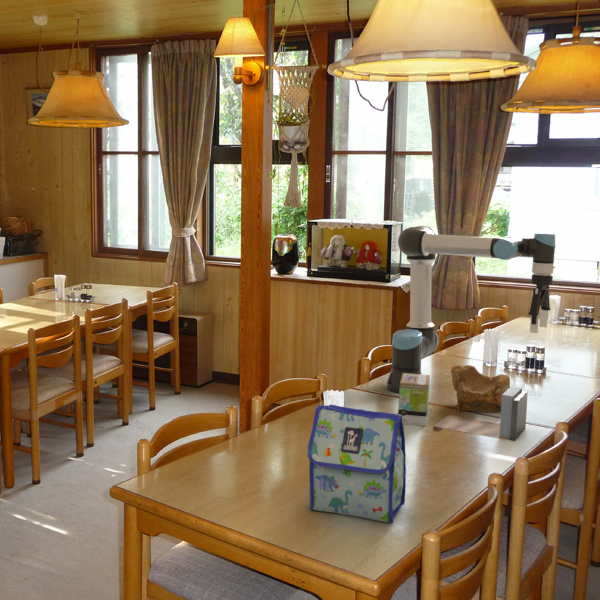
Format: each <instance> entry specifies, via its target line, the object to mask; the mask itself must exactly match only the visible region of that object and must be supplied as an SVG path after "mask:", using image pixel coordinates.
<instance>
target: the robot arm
mask: <svg viewBox="0 0 600 600" xmlns="http://www.w3.org/2000/svg"><path fill="white" fill-rule="evenodd" d="M397 245H398V247H399V250H400V251H401V253H402V254H404V255H405V256H406V261H408V262H409V263H410V270H409V271H410V273H409V274H410V277H409V278H410V280H409V282H410V283H409V284H410V286H409V288H410V290H409V291H410V295H409V296H410V297H409V298H410V301H409V302H410V303H409V305H410V307H409V315H410V316H409V321H408V323H407V324H406V326H405V327H406V328H404V329H399V330H397V331H395V332H394V333H393V335H392V340H391V344H392V345H391V370H390V372H389V375H388V379H387V381H386V389H387V390H388V391H390V392H393V393H396V394H399V390H400V381H401V378H402V374H403V373H409V374H422V371H421V370H422V359H423V358H425V357H428V356H430V355H432V354H433V353H434V352H435V351H436V349H437V347H438V346H439V336H438V334H437V332H436V331H435V330H436V327H435V326H436V324H434V323H433V322H432V272H433V271H432V267H433V265H432V264H433V262H435V260H436V256H437V255H448V256H462V257H478V258H491V259H492V258H493V259H500V260H501V261H504V260H505V261H508V260H511V259H513V258H532V266H531V267H532V269H531V272H532V274H531V279H530V280H531V282H530V283H531V284H532V285H534V286H535V287H536V288H533V291H532V297H531V303H530V307H529V308H530V310H529V312H528V315H529V316H530V325H529V333H531V334H533V333H534V334H538V333H539V328H547V327H548V317H549V315H548V314H549V311H551V304H550V286H552V285H553V281H554V279H553V278H554V276H553V275H552V274H554V269H556V266H555V265H554V263H555V254H556V253H555V250H556V235H555V233H553V232H538V231H537V232H535V233H534V236H531V237H530V236H529V237H526V236H514V235H511V236H510V235H509V236H508V235H507V236H506V235H505V236H503V237H489V236H488V237H487V236H472V235H456V234H439V233H438V232H437V231H436V230H435V229H434V228H432V227H431V226H427V225H418V226H410V227H407V228H405V229H403V230H402V231H401V232H400V234H399V236H398V239H397ZM540 308H541V310H540Z"/></svg>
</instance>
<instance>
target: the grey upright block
mask: <svg viewBox="0 0 600 600" xmlns="http://www.w3.org/2000/svg"><path fill="white" fill-rule="evenodd" d="M522 390H523V388H522V387H521V386H520V387H518V386H512V385H510V388H509V389H508V390H507V391H506V392H504V393H503V394H502V402H501V412H500V418H499V420H500V421H499V422H500V423H499V424H500V437H504V438H509V439H510V431H511V414H512V400H513V399H514V398H515V397H516V396H517V395H518V394H519V393H520V392H521V391H522Z"/></svg>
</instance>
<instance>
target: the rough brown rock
mask: <svg viewBox="0 0 600 600" xmlns="http://www.w3.org/2000/svg"><path fill="white" fill-rule="evenodd" d="M450 373H451V377H452V380H451V381H452V386H453V388H454V390H455V391H456V400H457V408H456V409H457V411H458V412H466V411H467V412H472V411H473V412H474V411H476V412H477V411H478V412H484V413H492V414H496V413H497V414H498V413H501V402H502V394H503V393H504V392H506V391H507V390H508V389H509V388H510V387H511V380H510V376H509V375H507V374H502V373H501V374H497V375H495V376H487V375H485V374H482V373H480V372H479V371H478V369H477V368H476V367H475V366H473V365H469V364H468V365H453V366H452V367H451V369H450Z"/></svg>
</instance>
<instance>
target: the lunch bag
mask: <svg viewBox="0 0 600 600" xmlns="http://www.w3.org/2000/svg"><path fill="white" fill-rule="evenodd" d="M309 437H310V438H309V440H308V444H307V445H308V446H307V452H306V453H307V454H306V455H307V458H308V460H309V468H308V470H309V471H308V472H309V473H308V475H309V509H310V510H311V511H318V512H324V513H325V512H326V513H334V514H339V515H345V516H351V517H358V518H363V519H369V520H372V521H379V522H383V523H388V524H393V523H394V518H395V516H396V515H397V514H398V512H399V510H400V509H401V507H402V506H404V505H405V502H406V488H407V487H406V485H407V484H406V483H407V482H406V480H407V479H406V478H407V477H406V475H407V466H406V465H407V463H406V440H405V439H406V438H405V429H404V424H403V422H402V416H401V415H398V414H397V413H392V412H391V413H390V412H386V411H385V412H384V411H383V412H382V411H372V410H366V409H360V408H359V409H358V408H351V407H346V406H339V405H336V404H331V403H330V404H329V405H321V404H320V405H318V406H316V407H315V413H314V417H313V424H312V429H311V433H310V436H309Z"/></svg>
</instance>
